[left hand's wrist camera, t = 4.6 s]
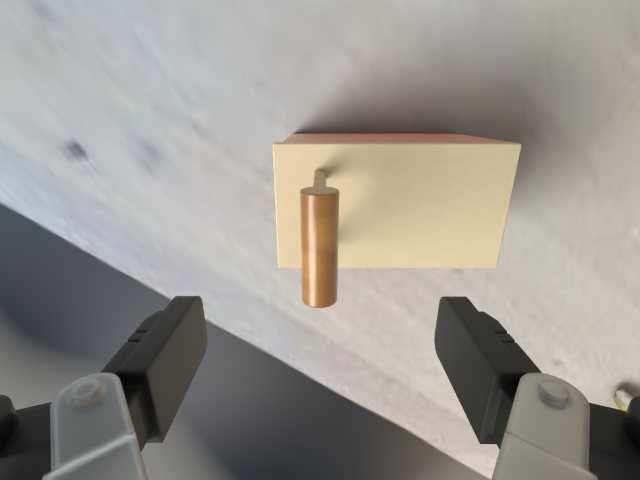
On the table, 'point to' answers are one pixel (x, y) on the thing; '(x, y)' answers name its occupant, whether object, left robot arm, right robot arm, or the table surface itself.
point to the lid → (389, 207)
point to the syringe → (623, 398)
